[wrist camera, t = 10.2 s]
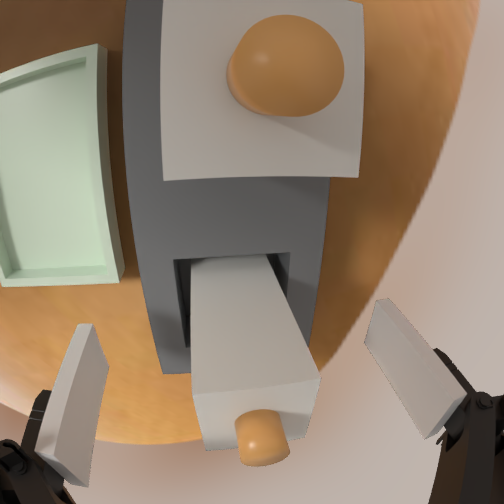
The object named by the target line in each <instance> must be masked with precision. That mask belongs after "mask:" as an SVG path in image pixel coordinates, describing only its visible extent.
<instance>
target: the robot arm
mask: <svg viewBox="0 0 504 504" xmlns="http://www.w3.org/2000/svg"><path fill="white" fill-rule="evenodd" d="M364 343H365V345H366V346H367V348H368V349H369V351H370V352H371V354H372V356H373V357H374V359H375V360H376V362H377V363H378V365H379V366H380V368H381V369H382V371H383V373H384V374H385V376H386V377H387V379H388V381H389V382H390V384H391V386H392V387H393V389H394V390H395V392H396V394H397V395H398V397H399V398H400V400H401V402H402V403H403V405H404V407H405V408H406V410H407V412H408V413H409V415H410V416H411V418H412V420H413V422H414V423H415V425H416V427H417V428H418V430H419V432H420V434H421V435H422V437H423V439H424V440H425V439H427V438H429V437H431V436H433V435H435V434H437V433H438V432H439V431H440V429H441V428H442V427H443V426H444V427H445V428H446V431H445V432H444V433H443V434H442V436H441V437H440V438H439V439H438V440H437V442H436V444H437V445H438V444H439V443H440V442H441V441H442V439H443V442H442V444H441V445H442V447H441V453H440V458H439V463H438V467H437V472H436V477H435V480H434V484H433V488H432V493H431V496H430V499H429V503H428V504H504V431H503V430H504V395H501V396H495V397H491V396H490V395H489V394H487V393H485V392H476V391H475V390H474V389H473V387H472V386H471V385H470V384H469V382H468V381H467V380H466V378H465V377H464V376H463V375H462V373H461V372H460V371H459V370H457V367H456V366H455V365H454V364H453V363H452V361H451V360H450V359H449V357H448V356H447V355H446V354H445V353H443V352H442V351H440V350H439V349H438V348H436V349H432V348H431V347H430V346H429V345H428V343H427V342H426V341H425V340H424V339H423V337H422V336H421V335H420V334H419V333H418V331H417V330H416V329H415V328H414V327H413V326H412V324H411V323H410V322H409V321H408V320H407V319H406V317H405V316H404V315H403V314H402V313H401V312H400V310H399V309H398V308H397V307H396V306H395V305H394V304H393V302H392V301H391V300H390V299H389V298H388V299H382V300H377V301H376V303H375V307H374V311H373V314H372V318H371V321H370V325H369V329H368V331H367V335H366V338H365V341H364ZM108 370H109V365H108V363H107V360H106V358H105V355H104V353H103V350H102V347H101V345H100V342H99V339H98V337H97V334H96V331H95V328H94V325H93V324H78V325H77V327H76V330H75V332H74V335H73V337H72V339H71V342H70V344H69V347H68V349H67V352H66V354H65V357H64V359H63V362H62V365H61V367H60V370H59V373H58V375H57V378H56V381H55V384H54V387H53V390H52V391H49V390H42V391H41V393H40V394H39V395H38V396H37V398H36V399H35V402H34V405H33V407H32V411H31V413H30V416H29V418H30V419H29V420H28V423H27V426H26V429H25V432H24V436H23V439H22V443H21V446H19V445H18V444H17V443H16V442H15V441H13V440H9V439H5V440H2V441H0V504H76V503H75V502H74V500H73V499H72V497H71V495H70V494H69V492H68V491H67V489H66V488H65V487H64V486H63V483H64V479H65V480H66V481H68V482H69V483H70V484H72V485H78V486H83V487H88V486H89V477H90V468H91V461H92V460H91V459H92V453H93V447H94V440H95V434H96V428H97V423H98V417H99V412H100V407H101V402H102V397H103V392H104V387H105V383H106V378H107V374H108Z"/></svg>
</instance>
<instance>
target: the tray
mask: <svg viewBox="0 0 504 504" xmlns="http://www.w3.org/2000/svg"><path fill="white" fill-rule="evenodd" d="M107 57H108V49H106V48H105V47H103V46H101V45H100V44H98V43H97V44H92V45H88V46H83V47H79V48H75V49H71V50H68V51H64V52H60V53H57V54H54V55H50V56H47V57H44V58H41V59H38V60H35V61H32V62H29V63H26V64H23V65H21V66H18V67H15V68H13V69H10V70H8V71H5V72H3V73H1V74H0V282H1V285H2V287H23V286H56V285H83V284H106V283H120V280H121V278H122V275H123V273H124V270H125V263H124V258H123V253H122V247H121V241H120V235H119V229H118V222H117V215H116V208H115V201H114V193H113V184H112V174H111V164H110V151H109V136H108V115H107Z"/></svg>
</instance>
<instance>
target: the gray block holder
mask: <svg viewBox="0 0 504 504" xmlns="http://www.w3.org/2000/svg"><path fill="white" fill-rule="evenodd" d="M363 107H364V16H363V4H360V3H357V2H353V1H349V0H126V10H125V22H124V37H123V61H122V109H123V135H124V152H125V165H126V177H127V187H128V196H129V205H130V213H131V221H132V228H133V235H134V242H135V248H136V254H137V260H138V266H139V272H140V277H141V283H142V288H143V293H144V298H145V303H146V307H147V312H148V317H149V321H150V325H151V330H152V334H153V338H154V342H155V346H156V350H157V354H158V358H159V361H160V365H161V369H162V372H163V374H181V373H191V258H205V257H221V256H237V255H253V254H266V256H267V259H268V261H269V263H270V265H271V267H272V270H273V272H274V274H275V276H276V278H277V280H278V283H279V285H280V287H281V289H282V291H283V294H284V296H285V298H286V300H287V302H288V305H289V307H290V309H291V311H292V313H293V316H294V318H295V320H296V322H297V324H298V327H299V329H300V331H301V333H302V336H303V338H304V340H305V342H306V344H307V347H309V341H310V336H311V330H312V324H313V317H314V311H315V305H316V298H317V291H318V284H319V277H320V269H321V262H322V254H323V246H324V237H325V228H326V219H327V209H328V198H329V187H330V177H354V178H358V176H359V166H360V154H361V141H362V126H363Z"/></svg>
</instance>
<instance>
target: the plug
mask: <svg viewBox="0 0 504 504" xmlns="http://www.w3.org/2000/svg"><path fill="white" fill-rule="evenodd" d="M191 377H192V396H193V400H194V405H195V409H196V413H197V417H198V422H199V426H200V430H201V434H202V438H203V441H204V445H205V449H206V451H211V450H224V449H234V448H239V454H240V459H241V462H242V463H243V464H244V465H247V466H266V465H271V464H274V463H277V462H280V461H282V460H283V459H285V458H286V457H287V456H288V455H289V454H290V450H289V446H288V443H287V441H290V440H295V439H300V438H304V437H305V435H306V432H307V428H308V425H309V422H310V418H311V415H312V411H313V407H314V404H315V400H316V397H317V393H318V390H319V386H320V382H321V376H320V374H319V371H318V369H317V367H316V365H315V362H314V360H313V358H312V356H311V353H310V351H309V349H308V347H307V344H306V342H305V340H304V338H303V336H302V333H301V331H300V329H299V327H298V324H297V322H296V320H295V318H294V316H293V313H292V311H291V309H290V307H289V305H288V302H287V300H286V298H285V296H284V294H283V291H282V289H281V287H280V285H279V283H278V280H277V278H276V276H275V274H274V272H273V270H272V267H271V265H270V263H269V261H268V259H267V256H266V254H253V255H237V256H221V257H205V258H191Z"/></svg>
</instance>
